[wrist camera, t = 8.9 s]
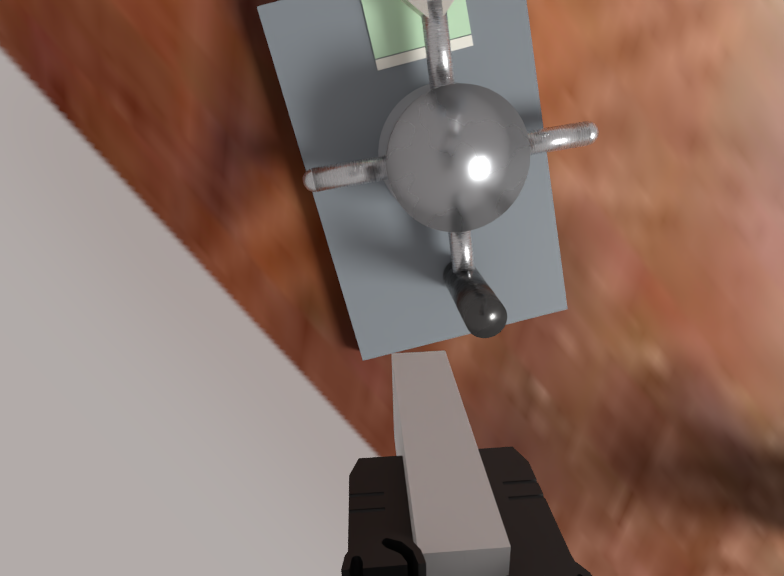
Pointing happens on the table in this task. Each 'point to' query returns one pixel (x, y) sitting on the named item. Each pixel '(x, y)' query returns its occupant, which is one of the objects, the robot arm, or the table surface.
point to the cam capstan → (456, 165)
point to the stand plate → (370, 139)
